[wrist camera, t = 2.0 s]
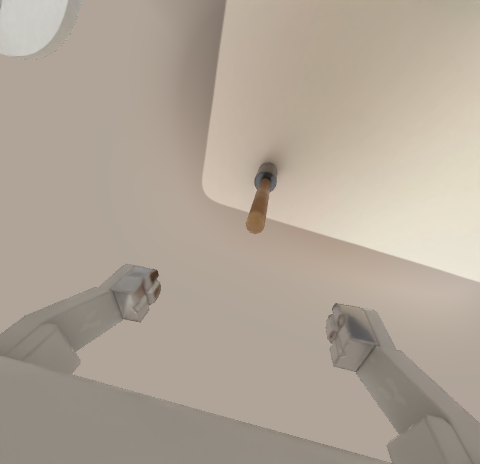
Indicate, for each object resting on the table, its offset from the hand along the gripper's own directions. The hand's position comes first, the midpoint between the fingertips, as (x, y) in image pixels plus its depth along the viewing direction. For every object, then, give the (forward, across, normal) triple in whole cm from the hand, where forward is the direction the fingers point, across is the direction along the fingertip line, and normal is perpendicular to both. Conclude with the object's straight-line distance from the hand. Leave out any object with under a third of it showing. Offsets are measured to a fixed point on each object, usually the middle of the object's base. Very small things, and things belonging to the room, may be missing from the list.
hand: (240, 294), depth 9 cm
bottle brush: (+25, 0, 0) cm, 25 cm away
